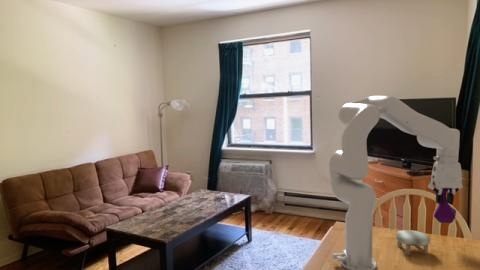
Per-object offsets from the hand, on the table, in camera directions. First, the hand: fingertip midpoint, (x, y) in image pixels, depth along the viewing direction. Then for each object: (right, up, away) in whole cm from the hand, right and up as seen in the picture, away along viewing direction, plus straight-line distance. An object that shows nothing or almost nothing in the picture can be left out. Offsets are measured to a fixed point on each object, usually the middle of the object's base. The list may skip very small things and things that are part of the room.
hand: (444, 203), depth 140 cm
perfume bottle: (+1, -8, +1) cm, 8 cm away
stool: (-14, -19, -1) cm, 23 cm away
